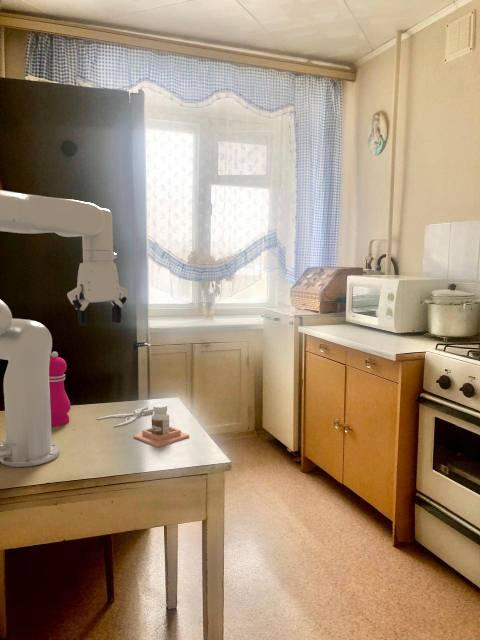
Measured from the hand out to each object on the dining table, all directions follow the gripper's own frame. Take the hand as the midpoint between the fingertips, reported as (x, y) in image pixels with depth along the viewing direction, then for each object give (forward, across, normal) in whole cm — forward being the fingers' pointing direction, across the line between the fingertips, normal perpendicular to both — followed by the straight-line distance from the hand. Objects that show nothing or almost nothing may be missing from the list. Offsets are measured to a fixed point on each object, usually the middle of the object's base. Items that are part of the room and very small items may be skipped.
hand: (100, 323), depth 134 cm
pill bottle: (+28, -7, +16) cm, 33 cm away
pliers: (+29, -10, -4) cm, 31 cm away
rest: (+28, -7, +16) cm, 33 cm away
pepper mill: (+28, +6, -14) cm, 32 cm away
